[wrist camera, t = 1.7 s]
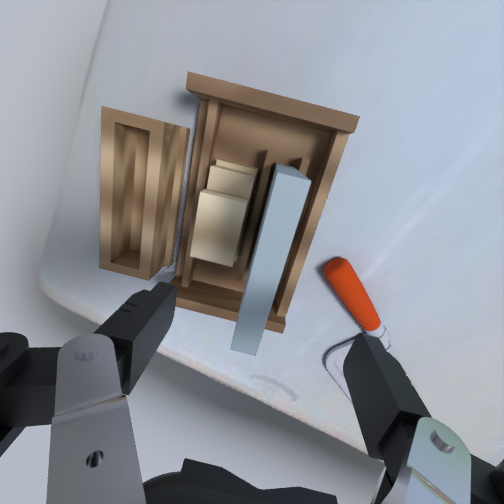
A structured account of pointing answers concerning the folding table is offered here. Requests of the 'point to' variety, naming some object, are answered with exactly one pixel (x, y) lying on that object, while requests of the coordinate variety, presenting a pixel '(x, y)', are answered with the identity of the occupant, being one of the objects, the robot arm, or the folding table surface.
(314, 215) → the rack
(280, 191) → the panel
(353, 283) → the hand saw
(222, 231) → the offcut short
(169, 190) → the stand
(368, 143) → the folding table surface
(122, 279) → the folding table surface
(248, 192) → the offcut mid
